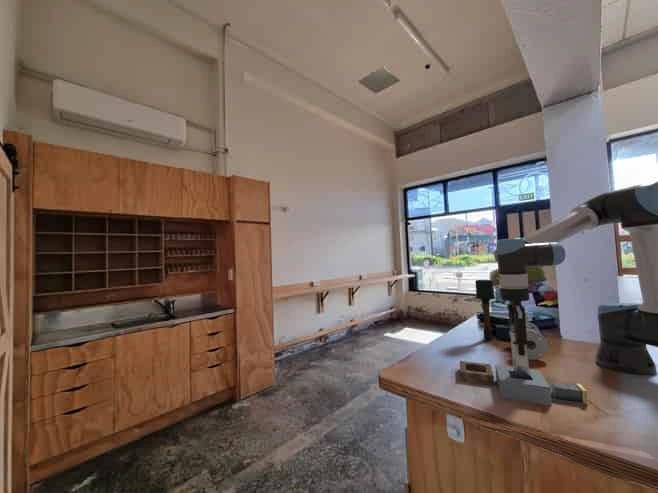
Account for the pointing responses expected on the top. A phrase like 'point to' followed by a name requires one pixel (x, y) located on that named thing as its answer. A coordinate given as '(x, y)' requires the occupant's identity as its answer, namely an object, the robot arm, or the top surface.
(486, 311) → the potato masher grenade
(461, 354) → the top surface
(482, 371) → the brown square frame
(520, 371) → the peg
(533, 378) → the socket block
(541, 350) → the valve
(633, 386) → the top surface
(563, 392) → the yellow capped grey block
